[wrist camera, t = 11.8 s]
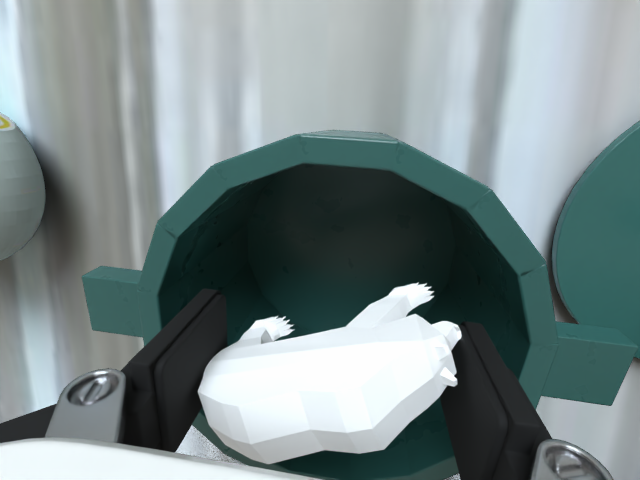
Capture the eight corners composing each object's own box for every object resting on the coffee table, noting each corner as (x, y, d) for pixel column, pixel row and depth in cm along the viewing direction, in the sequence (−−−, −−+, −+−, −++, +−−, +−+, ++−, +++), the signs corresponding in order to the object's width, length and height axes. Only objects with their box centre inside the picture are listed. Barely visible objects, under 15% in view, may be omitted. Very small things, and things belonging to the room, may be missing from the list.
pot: (190, 119, 19) (27, 114, 10) (547, 144, 17) (755, 165, 8) (203, 325, 23) (100, 449, 14) (485, 364, 21) (570, 538, 12)
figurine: (230, 321, 13) (158, 421, 8) (440, 272, 11) (487, 367, 7) (253, 372, 13) (198, 488, 9) (456, 333, 12) (507, 457, 7)
